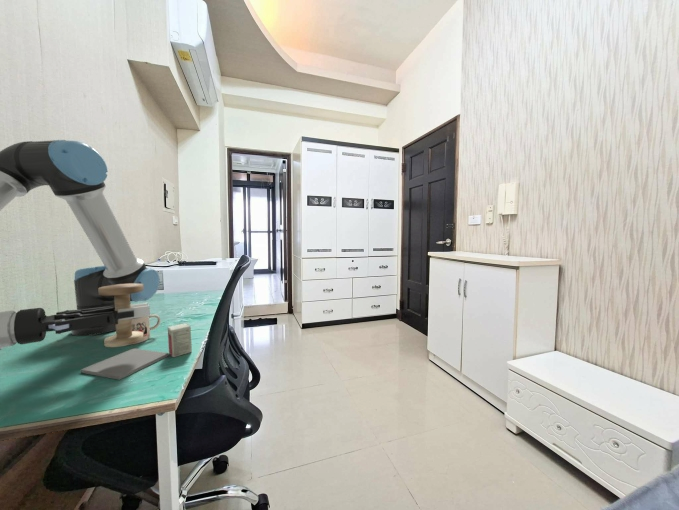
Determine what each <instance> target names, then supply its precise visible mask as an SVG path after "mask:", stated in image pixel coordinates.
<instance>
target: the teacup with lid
mask: <svg viewBox="0 0 679 510" xmlns="http://www.w3.org/2000/svg"><path fill="white" fill-rule="evenodd" d="M150 318H157V322H156V324H155V325H154V326H152V327H151V326H150ZM131 322H132V331H140V332H143V335H144V338H143V339H142V340H141V341H139V342H136V343H133V344H130V345H135V344H136V345H137V344H140V343H142V342H146V341H147V340H149V339H150V338H151V331H153V330H155V329H157V328H158V327H159V325H160V324H161V318H160V316H159V315H158V314H150V316H146V317H139V318H133V319H131ZM130 345H129V346H130Z"/></svg>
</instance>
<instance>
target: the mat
mask: <svg viewBox="0 0 679 510" xmlns="http://www.w3.org/2000/svg"><path fill="white" fill-rule="evenodd" d="M169 355H170V353H169V352H163V351H155V350H149V349H148V350H147V349H143V348H135V347H133V348H131V349H128V350H126V351H123V352H121V353H118V354H116V355H114V356H111V357H108V358H106V359H103V360H101V361H98V362H95V363H93V364H91V365H89V366H86V367H84V368H81V369H80V374H81V373H82V374H87V375H90V376H91V375H93V376H98V377H103V378H109V379H114V380H119V381H120V380H122V379H124V378H126V377H129V376H130V375H132V374H134V373H137V372H139V371H141V370H143V369H145V368H147V367H149V366H151V365H153V364H155V363H157V362H159V361H161V360H163V359H165V358H167V357H169Z"/></svg>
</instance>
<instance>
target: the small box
mask: <svg viewBox="0 0 679 510" xmlns="http://www.w3.org/2000/svg"><path fill="white" fill-rule="evenodd" d="M191 331H192V328H191V325H190V324H188V323H187V322H186V323H185V322H184V323H181V324H175V325H172V326H167V338H168V341H167V342H168V354H169V355H170V356H171V358H176V357H179V356H183V355H186V354H190V353H192V332H191Z"/></svg>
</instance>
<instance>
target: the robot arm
mask: <svg viewBox="0 0 679 510" xmlns="http://www.w3.org/2000/svg"><path fill="white" fill-rule="evenodd" d="M108 172H109V171H108V166H107V164H106V161H105V160H104V158H103V156H102V155H101V154H100V153H99V152H98V151H97V150H96V149H95V148H93V147H91V146H90V145H88V144H87V143H84V142H81V141H78V140H66V139H56V140H55V139H53V140H40V141H37V140H36V141H33V140H32V141H31V140H30V141H27V140H26V141H22V142H17V143H14V144H11V145H9V146H7V147H5V148H4V149H1V150H0V211H2V210H3V209H4V208H5V207H6V206H7V205H8V204H9V203H10V202H11V201H13V200H14V199H15V198H16V197H24V196H26V195H28V193H29V192H30V191H31V190H34V189H36V188H39V187H43V186H44V187H45V186H49V188H50V190H51V191H52V193H53V194H54V196H55V197H58V198H60V199H63V200H65V201H66V203H67V204H68V207H69V208H70V210H71V211H72V213H73V215H74V216H75V218H76V220H77V221H78V223H79V225H80V227H81V229H83V230H82V231H83V232H84V233H85V235H86V237H87V239H88V241H90V244H91V245H92V247H93V249H94V251H95V252H96V253H97V255H98V256H99V259H100V260H101V262H102V263H103V265H100V266H91V267H84V268H79V269H76V271H74V279H73V282H74V283H73V285H74V293H75V303H76V309H72V310H69V309H67V310H63V311H58V312H56V314H51V315H46V311H45V309H44V308H43V307H34V308H28V309H27V308H25V309H20V310H18V311H17V312H16V311H15V310H5V311H0V351H1V350H2V349H3V348H7V347H13V346H15V345H16V344H18V345H22V346H23V345H26V344H33V343H39V342H42V341H44V340H45V338H46V334H47V332H55V334H56V335H57V334H58V335H59V334H60V335H61V334H63V333H68V332H71V335H72V336H74V337H75V336H76V337H80V336H82V337H85V336H94V335H95V336H96V335H100V334H105V333H106V334H107V333H110V332H115V331H116V324H118V320H119V321H120V320H126V319H133V318H139V317H146V316H150V315H151V310H150V309H151V308H150V307H151V305H149V302H145V301H148V300H150V299H152V298H153V297H154V296H155V294H156V293H157V291H158V289H159V286H160V276H159V273H158V271H157V270H155V269H154V268H151V267H150V268H148V267H147V266H146V264H145V261H144V259H143V260H142V259H141V258H139V257H136V255H135V253H134V252H133V250H132V248H131V246H130V244H129V242H128V240H127V238H126V236H125V234H124V232H123V230H122V228H121V226H120V224H119V222H118V220H117V219H116V217H115V214H114V212H113V210H112V209H111V207H110V205H109V202H108V201H107V198H106V197H105V195H104V193H103V192H104V190H105V189H106V186H107V185H106V183H105V181H106V179H108V178H107V177H108V174H107V173H108ZM130 283H140V284H143V291H141V292H137V293H131V294H130V302H135V303H136V304H131V308H126V309H118V311H115V302H114V295H111V296H102V295H99V292H98V288H100V287H104V286H109V285H117V284H130ZM137 302H145V303H137Z"/></svg>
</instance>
